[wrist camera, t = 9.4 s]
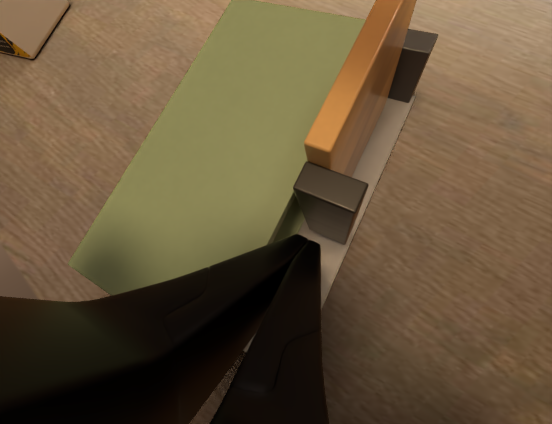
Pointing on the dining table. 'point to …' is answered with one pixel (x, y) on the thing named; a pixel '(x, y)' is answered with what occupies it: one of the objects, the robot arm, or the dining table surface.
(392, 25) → the sliding door
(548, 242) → the dining table surface
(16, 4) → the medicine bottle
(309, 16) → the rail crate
